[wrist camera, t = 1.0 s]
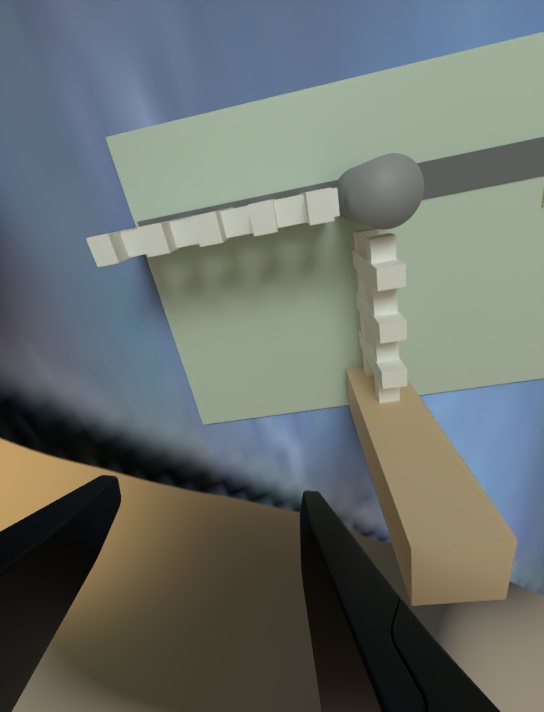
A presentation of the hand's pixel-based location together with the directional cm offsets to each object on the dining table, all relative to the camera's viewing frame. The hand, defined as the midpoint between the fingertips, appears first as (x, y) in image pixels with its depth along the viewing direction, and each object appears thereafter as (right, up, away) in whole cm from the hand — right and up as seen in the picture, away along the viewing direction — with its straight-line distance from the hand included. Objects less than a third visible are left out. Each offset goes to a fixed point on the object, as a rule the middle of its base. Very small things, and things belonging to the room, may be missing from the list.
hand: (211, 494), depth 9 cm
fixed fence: (+1, +11, +8) cm, 14 cm away
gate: (+7, +5, +10) cm, 13 cm away
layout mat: (+8, +9, +9) cm, 15 cm away
